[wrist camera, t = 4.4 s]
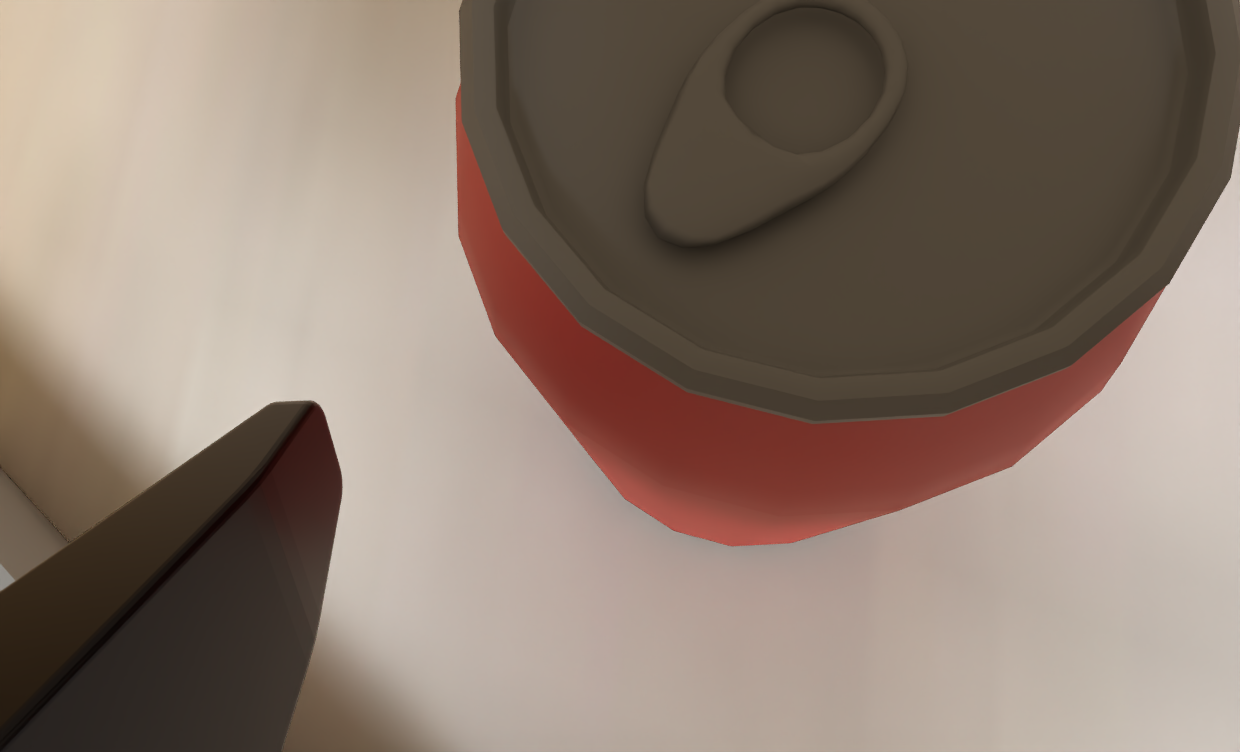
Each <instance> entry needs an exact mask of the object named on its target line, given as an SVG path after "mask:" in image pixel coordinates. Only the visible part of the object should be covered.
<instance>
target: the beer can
mask: <svg viewBox="0 0 1240 752" xmlns="http://www.w3.org/2000/svg"><path fill="white" fill-rule="evenodd" d="M459 23H460V70H461V83H460V87H459V90H458V93H457V96H456V141H457V190H458V233H459V238H460V241H461V244H462V246H463V249H464V252H465V255H466V257H467V260H468V263H469V266H470V268H471V271H472V274H473V276H474V279H475V282H476V285H477V287H478V290H479V293H480V296H481V298H482V301H483V304H484V306H485V309H486V312H487V315H488V317H489V320H490V323H491V326H492V328H493V331H494V334H495V336H496V338H497V339H498V340H499V341H500V343H501V344H502V345H503V346H504V348H505V349H506V350H507V352H508V353H509V354H510V355H511V357H512V358H513V359H514V360H515V362H516V363H517V364H518V365H519V367H520V368H521V369H522V370H523V372H524V373H525V374H526V376H527V377H528V378H529V379H530V381H531V382H532V383H533V384H534V386H535V387H536V388H537V389H538V391H539V392H540V393H541V394H542V396H543V397H544V398H545V400H546V401H547V402H548V403H549V405H550V406H551V407H552V408H553V410H554V411H555V412H556V413H557V415H558V416H559V417H560V419H561V420H562V421H563V422H564V424H565V425H566V426H567V427H568V429H569V430H570V431H571V432H572V434H573V435H574V436H575V437H576V439H577V440H578V441H579V443H580V444H581V445H582V446H583V448H584V449H585V450H586V451H587V453H588V454H589V455H590V456H591V458H592V459H593V460H594V461H595V463H596V464H597V465H598V466H599V468H600V469H601V470H602V471H603V473H604V474H605V475H606V476H607V477H608V479H609V480H610V481H611V482H612V484H613V485H614V486H615V487H616V489H617V490H618V491H619V492H620V494H621V495H622V496H623V497H624V499H626V500H627V501H629V502H630V503H632V504H634V505H635V506H637V507H638V508H640V509H641V510H643V511H644V512H646V513H647V514H649V515H650V516H652V517H654V518H655V519H657V520H658V521H660V522H661V523H663V524H664V525H666V526H667V527H669V528H670V529H672V530H674V531H677V532H680V533H684V534H688V535H692V536H695V537H699V538H703V539H706V540H710V541H714V542H718V543H721V544H725V545H729V546H745V545H764V544H783V543H793V542H796V541H800V540H803V539H806V538H810V537H813V536H816V535H819V534H823V533H826V532H829V531H833V530H836V529H839V528H843V527H846V526H849V525H852V524H856V523H859V522H862V521H866V520H869V519H872V518H876V517H879V516H882V515H886V514H889V513H892V512H895V511H899V510H902V509H904V508H907V507H909V506H912V505H914V504H917V503H920V502H922V501H925V500H927V499H930V498H932V497H935V496H937V495H940V494H943V493H945V492H948V491H950V490H953V489H955V488H958V487H961V486H963V485H966V484H968V483H971V482H973V481H976V480H978V479H981V478H984V477H986V476H989V475H991V474H994V473H996V472H999V471H1002V470H1004V469H1007V468H1009V467H1012V466H1013V465H1014V464H1015V463H1017V462H1018V461H1019V460H1020V459H1021V458H1022V457H1024V456H1025V455H1026V454H1027V453H1028V452H1030V451H1031V450H1032V449H1033V448H1034V447H1036V446H1037V445H1038V444H1039V443H1040V442H1041V441H1043V440H1044V439H1045V438H1046V437H1047V436H1049V435H1050V434H1051V433H1052V432H1053V431H1054V430H1056V429H1057V428H1058V427H1059V426H1060V425H1062V424H1063V423H1064V422H1065V421H1066V420H1067V419H1069V418H1070V417H1071V416H1072V415H1073V414H1075V413H1076V412H1077V411H1078V410H1079V409H1080V408H1082V407H1083V406H1084V405H1085V404H1086V403H1088V402H1089V401H1090V400H1091V399H1092V398H1094V397H1095V396H1096V395H1097V394H1098V393H1099V392H1101V391H1102V389H1103V388H1104V386H1105V385H1106V383H1107V382H1108V381H1109V379H1110V378H1111V376H1112V375H1113V374H1114V372H1115V371H1116V369H1117V368H1118V367H1119V365H1120V364H1121V362H1122V361H1123V359H1124V357H1125V355H1126V354H1127V352H1128V350H1129V348H1130V347H1131V345H1132V343H1133V342H1134V340H1135V338H1136V336H1137V335H1138V333H1139V331H1140V330H1141V328H1142V326H1143V324H1144V323H1145V321H1146V319H1147V318H1148V316H1149V314H1150V312H1151V311H1152V309H1153V307H1154V306H1155V304H1156V302H1157V300H1158V299H1159V297H1160V295H1161V294H1162V292H1163V290H1164V288H1165V287H1166V286H1167V285H1168V284H1169V283H1170V281H1171V279H1172V278H1173V276H1174V274H1175V273H1176V271H1177V269H1178V267H1179V266H1180V264H1181V262H1182V261H1183V259H1184V257H1185V255H1186V254H1187V252H1188V250H1189V249H1190V247H1191V245H1192V243H1193V242H1194V240H1195V238H1196V237H1197V235H1198V233H1199V231H1200V230H1201V228H1202V226H1203V224H1204V223H1205V221H1206V219H1207V218H1208V216H1209V214H1210V212H1211V211H1212V209H1213V207H1214V206H1215V204H1216V202H1217V200H1218V199H1219V197H1220V195H1221V194H1222V192H1223V190H1224V188H1225V187H1226V185H1227V183H1228V182H1229V180H1230V178H1231V173H1232V167H1233V161H1234V155H1235V150H1236V144H1237V138H1238V132H1239V126H1240V3H1239V0H463V1H462V4H461V7H460V10H459Z"/></svg>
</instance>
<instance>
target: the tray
mask: <svg viewBox="0 0 1240 752" xmlns="http://www.w3.org/2000/svg"><path fill="white" fill-rule="evenodd" d="M67 544H69V543H68V541H67V540H66V539H65V538H64V537H63V536H62V535H61V534H60V533H59V532H58V531H57V529H56V528H55V527H54V526H53V525H52V524H51V523H50V522H49V521H48V520H47V518H46V517H45V516H44V515H43V514H42V513H41V512H40V511H39V510H38V509H37V507H36V506H35V505H34V504H33V503H32V502H31V501H30V500H29V499H28V498H27V496H26V495H25V494H24V493H23V492H22V491H21V490H20V489H19V488H18V487H17V485H16V484H15V483H14V482H13V481H12V480H11V479H10V478H9V477H8V476H7V474H6V473H5V472H4V471H3V470H2V469H1V468H0V591H1V590H3V589H4V588H6V587H7V586H8V585H10V584H11V583H13V582H14V581H16V580H17V579H19V578H20V577H21V576H23V575H24V574H26V573H27V572H29V571H30V570H31V569H33V568H34V567H36V566H37V565H39V564H40V563H42V562H43V561H44V560H46V559H47V558H49V557H50V556H52V555H53V554H54V553H56V552H57V551H59V550H60V549H62V548H63V547H65V546H66V545H67Z"/></svg>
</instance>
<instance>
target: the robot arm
mask: <svg viewBox="0 0 1240 752" xmlns="http://www.w3.org/2000/svg"><path fill="white" fill-rule="evenodd" d="M341 499H342V475H341V470H340V466H339V462H338V459H337V455H336V452H335V448H334V445H333V441H332V438H331V434H330V431H329V427H328V424H327V420H326V417H325V414H324V412H323V410H322V408H321V407H320V405H319V404H317V403H316V402H314V401H285V402H274V403H271V404H269V405H267V406H266V407H264V408H263V409H261V410H260V411H258V412H257V413H256V414H254V415H253V416H251V417H250V418H248V419H247V420H246V421H244V422H243V423H241V424H240V425H238V426H237V427H235V428H234V429H233V430H231V431H230V432H228V433H227V434H225V435H224V436H223V437H221V438H220V439H218V440H217V441H215V442H214V443H213V444H211V445H210V446H208V447H207V448H205V449H204V450H202V451H201V452H200V453H198V454H197V455H195V456H194V457H192V458H191V459H190V460H188V461H187V462H185V463H184V464H182V465H181V466H179V467H178V468H177V469H175V470H174V471H172V472H171V473H169V474H168V475H167V476H165V477H164V478H162V479H161V480H159V481H158V482H157V483H155V484H154V485H152V486H151V487H149V488H148V489H146V490H145V491H144V492H142V493H141V494H139V495H138V496H136V497H135V498H134V499H132V500H131V501H129V502H128V503H126V504H125V505H123V506H122V507H121V508H119V509H118V510H116V511H115V512H113V513H112V514H111V515H109V516H108V517H106V518H105V519H103V520H102V521H100V522H99V523H98V524H96V525H95V526H93V527H92V528H90V529H89V530H88V531H86V532H85V533H83V534H82V535H80V536H79V537H77V538H76V539H75V540H73V541H72V542H70V543H69V544H67V545H66V546H65V547H63V548H62V549H60V550H59V551H57V552H56V553H54V554H53V555H52V556H50V557H49V558H47V559H46V560H44V561H43V562H42V563H40V564H39V565H37V566H36V567H34V568H33V569H31V570H30V571H29V572H27V573H26V574H24V575H23V576H21V577H20V578H19V579H17V580H16V581H14V582H13V583H11V584H10V585H8V586H7V587H6V588H4V589H3V590H1V591H0V752H282V749H283V746H284V743H285V740H286V736H287V733H288V730H289V727H290V724H291V720H292V717H293V714H294V711H295V707H296V704H297V701H298V698H299V694H300V691H301V688H302V685H303V681H304V678H305V675H306V672H307V668H308V665H309V662H310V658H311V654H312V651H313V647H314V644H315V640H316V635H317V630H318V625H319V620H320V615H321V610H322V604H323V599H324V593H325V588H326V582H327V577H328V571H329V565H330V560H331V554H332V549H333V543H334V538H335V532H336V527H337V521H338V515H339V510H340V504H341Z"/></svg>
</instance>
